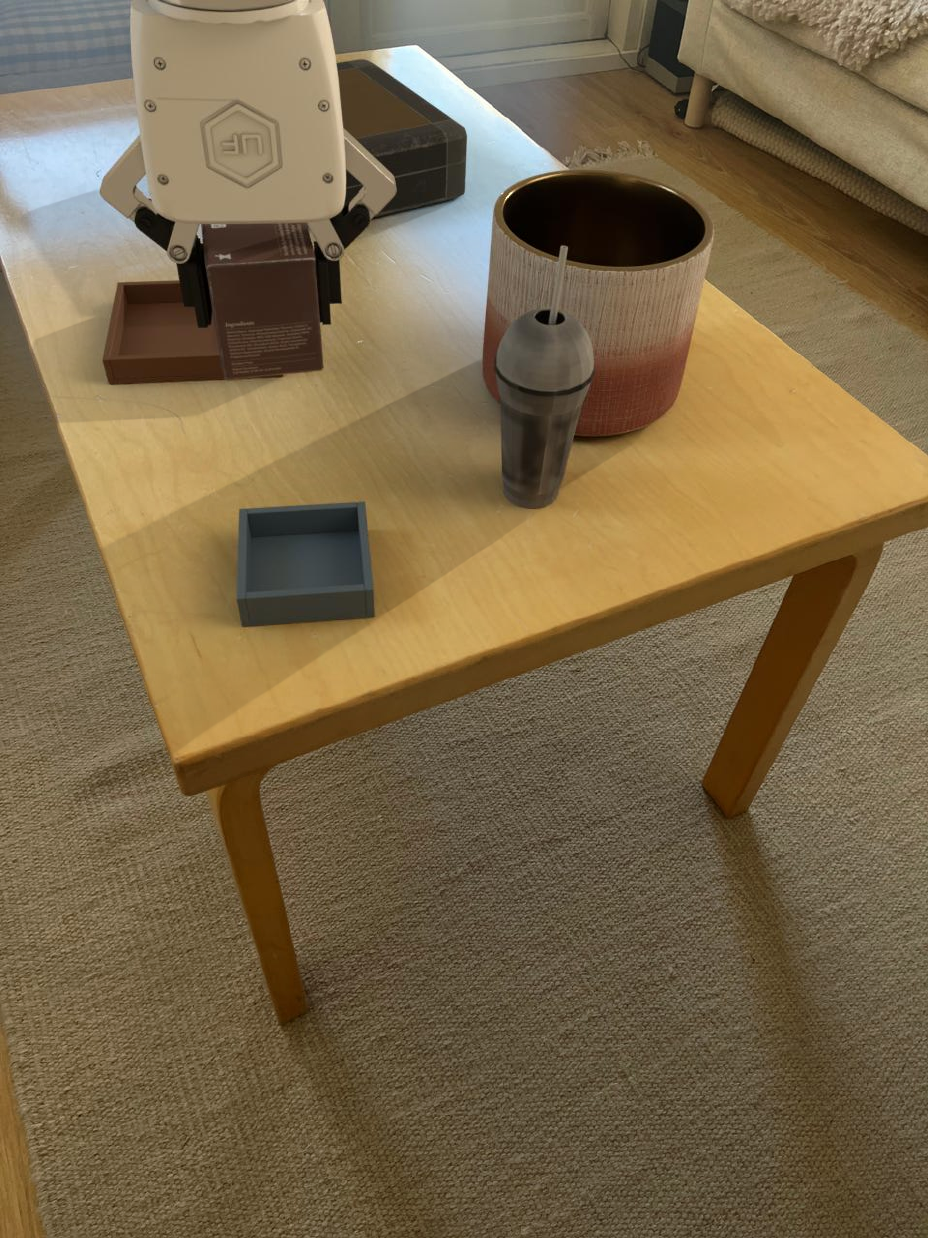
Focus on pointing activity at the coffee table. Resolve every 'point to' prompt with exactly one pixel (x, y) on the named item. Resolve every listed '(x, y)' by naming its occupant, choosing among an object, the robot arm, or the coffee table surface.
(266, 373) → the box
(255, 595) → the bin
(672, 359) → the planter
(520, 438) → the beverage cup
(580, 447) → the coffee table surface
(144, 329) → the tray
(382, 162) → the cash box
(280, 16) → the robot arm
